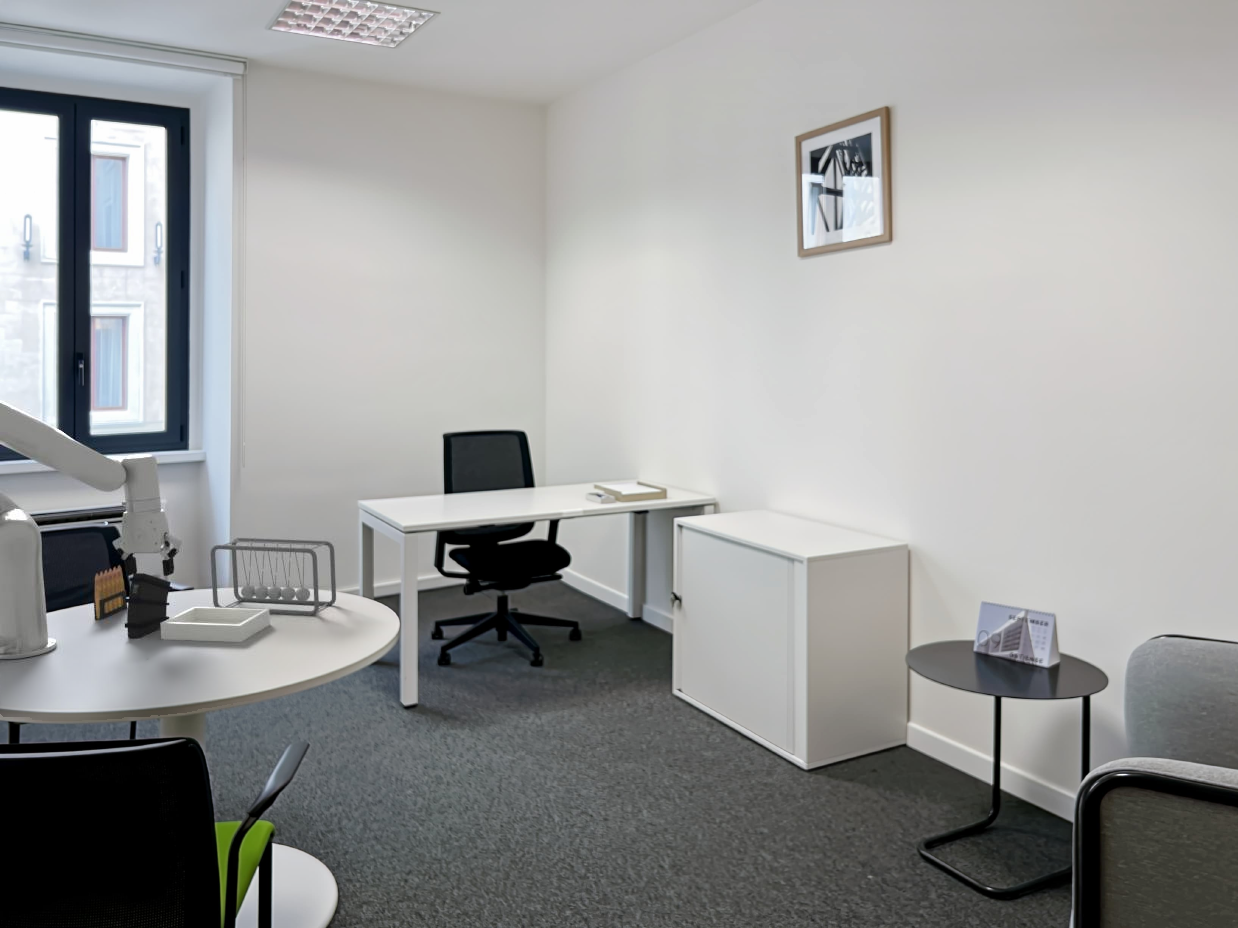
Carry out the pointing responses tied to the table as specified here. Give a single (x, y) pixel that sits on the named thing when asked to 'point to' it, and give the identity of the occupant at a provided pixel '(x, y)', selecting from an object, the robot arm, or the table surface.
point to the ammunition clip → (109, 594)
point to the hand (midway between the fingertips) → (150, 574)
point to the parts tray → (215, 624)
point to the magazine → (146, 604)
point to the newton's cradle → (275, 591)
